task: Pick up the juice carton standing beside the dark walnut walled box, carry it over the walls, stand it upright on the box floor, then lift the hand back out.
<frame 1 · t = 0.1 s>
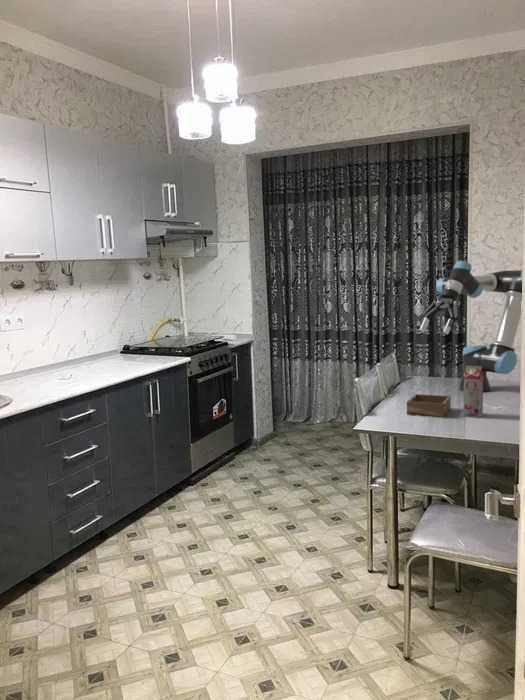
hand: (433, 331, 265), 36 cm above the table, tool tilted 35°, fingers open, 13 cm apart
walled box: (428, 411, 266), on the table
juice carton: (473, 415, 258), on the table
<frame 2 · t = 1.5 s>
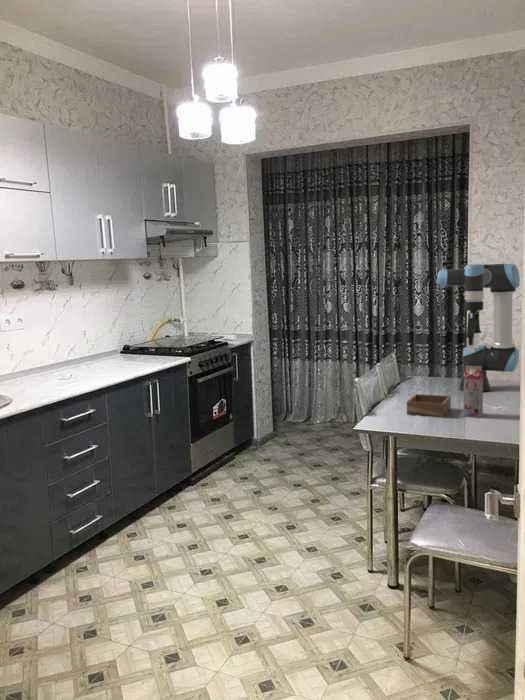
hand: (473, 350, 254), 29 cm above the table, tool pointing down, fingers open, 13 cm apart
nothing on the table moved.
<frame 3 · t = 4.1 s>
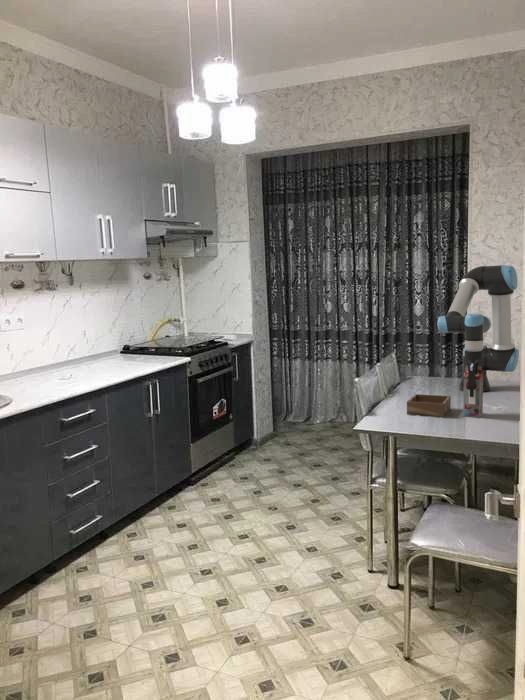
hand: (473, 401, 257), 6 cm above the table, tool pointing down, fingers closed on juice carton, 7 cm apart
juice carton: (473, 415, 258), on the table, touching gripper
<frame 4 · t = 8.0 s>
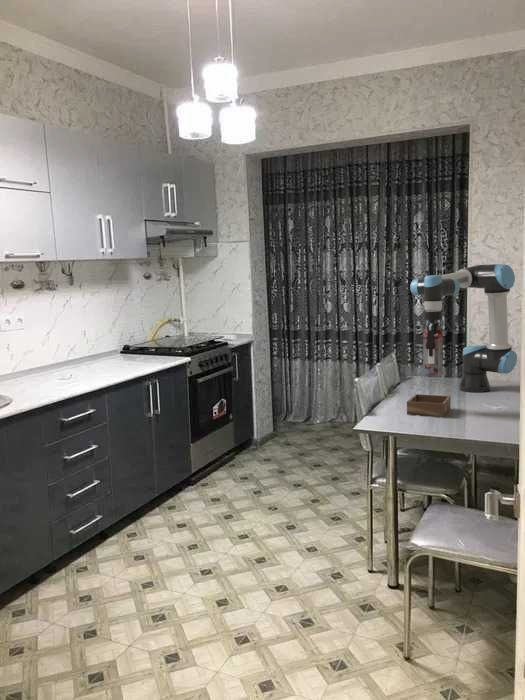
hand: (432, 361, 262), 23 cm above the table, tool pointing down, fingers closed on juice carton, 7 cm apart
juice carton: (433, 375, 263), point 17 cm above the table, touching gripper
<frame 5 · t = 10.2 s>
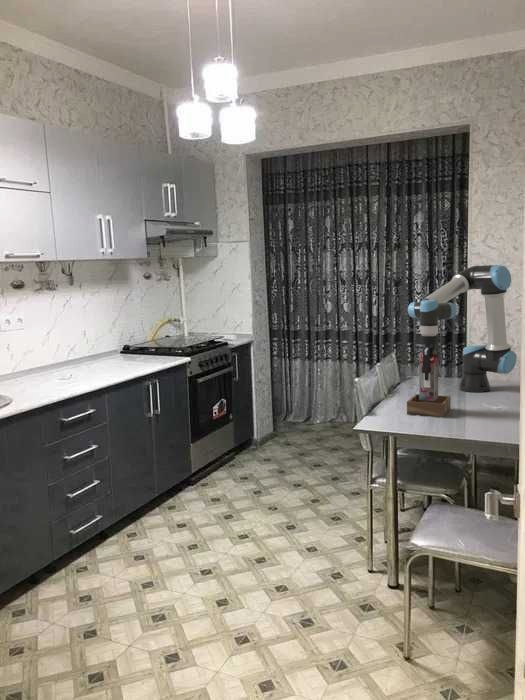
hand: (428, 385, 265), 12 cm above the table, tool pointing down, fingers closed on juice carton, 7 cm apart
juice carton: (428, 399, 266), point 6 cm above the table, touching gripper
when the fingers open (8 cm above the table, at t = 11.8 s): juice carton drops 1 cm, resting on walled box.
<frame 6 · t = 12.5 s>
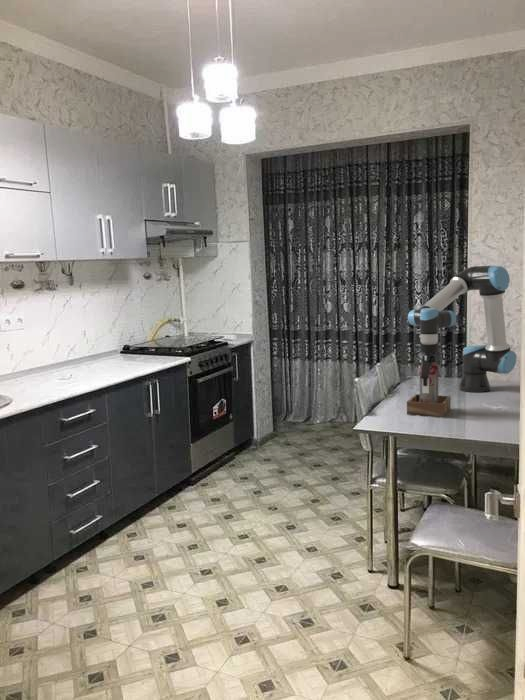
hand: (428, 389, 265), 10 cm above the table, tool pointing down, fingers open, 13 cm apart
juice carton: (429, 410, 266), point 1 cm above the table, touching walled box
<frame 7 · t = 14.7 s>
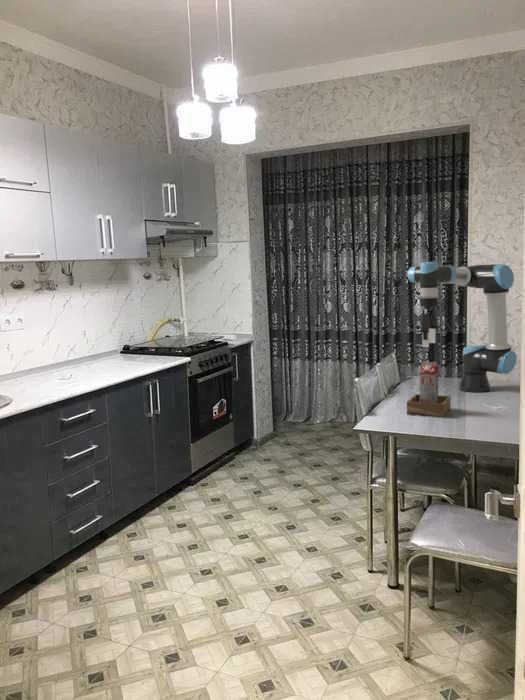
hand: (429, 345, 262), 31 cm above the table, tool pointing down, fingers open, 13 cm apart
nothing on the table moved.
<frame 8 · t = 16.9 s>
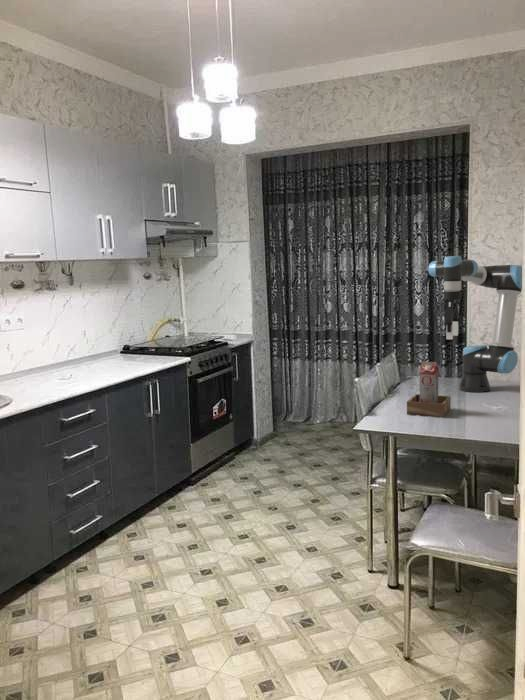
hand: (452, 337, 268), 33 cm above the table, tool pointing down, fingers open, 13 cm apart
nothing on the table moved.
at the end: juice carton inside the target area on the walled box (0.1 cm from its centre), point 0.8 cm above the walled box's base; juice carton tilted 0°; the gripper is holding nothing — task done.
